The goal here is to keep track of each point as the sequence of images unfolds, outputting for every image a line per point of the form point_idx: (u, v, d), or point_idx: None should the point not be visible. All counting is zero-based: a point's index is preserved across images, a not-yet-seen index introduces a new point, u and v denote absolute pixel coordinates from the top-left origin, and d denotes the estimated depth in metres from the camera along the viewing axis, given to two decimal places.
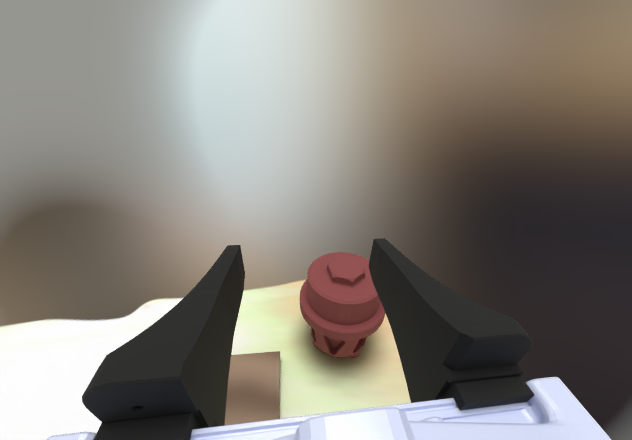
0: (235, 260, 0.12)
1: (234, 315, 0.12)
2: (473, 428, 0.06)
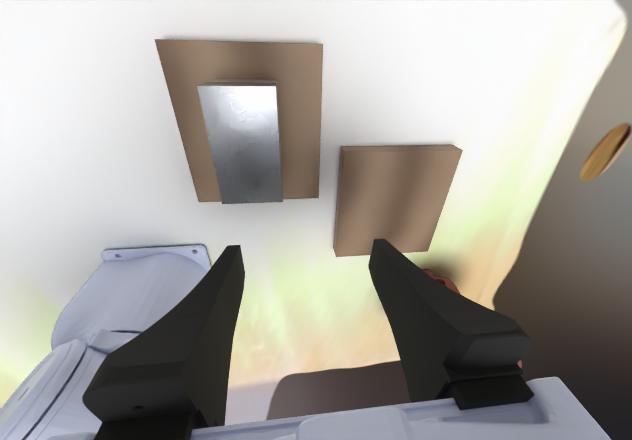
0: (235, 260, 0.12)
1: (234, 315, 0.12)
2: (473, 428, 0.06)
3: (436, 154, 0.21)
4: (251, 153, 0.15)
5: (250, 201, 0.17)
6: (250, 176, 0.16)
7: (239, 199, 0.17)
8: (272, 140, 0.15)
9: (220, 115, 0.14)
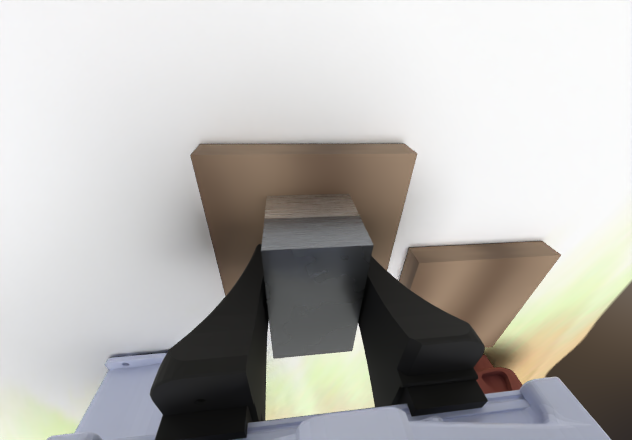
0: None
1: (267, 313, 0.12)
2: (473, 428, 0.06)
3: (528, 260, 0.17)
4: (322, 311, 0.11)
5: (310, 353, 0.13)
6: (316, 331, 0.12)
7: (296, 352, 0.13)
8: (353, 297, 0.11)
9: (287, 278, 0.10)
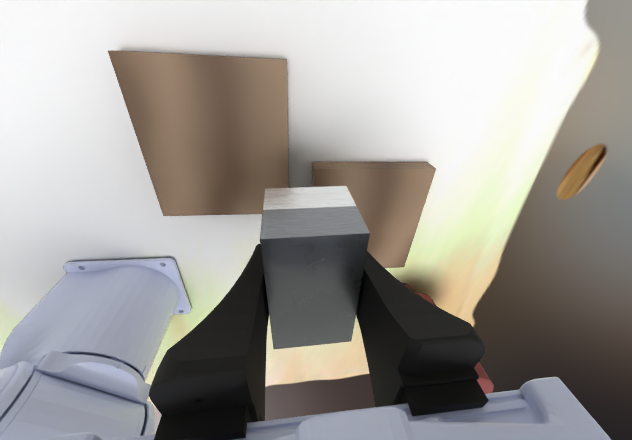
0: None
1: (267, 312, 0.12)
2: (473, 428, 0.06)
3: (409, 172, 0.21)
4: (321, 301, 0.11)
5: (310, 344, 0.13)
6: (315, 321, 0.12)
7: (296, 343, 0.13)
8: (351, 287, 0.11)
9: (286, 267, 0.10)
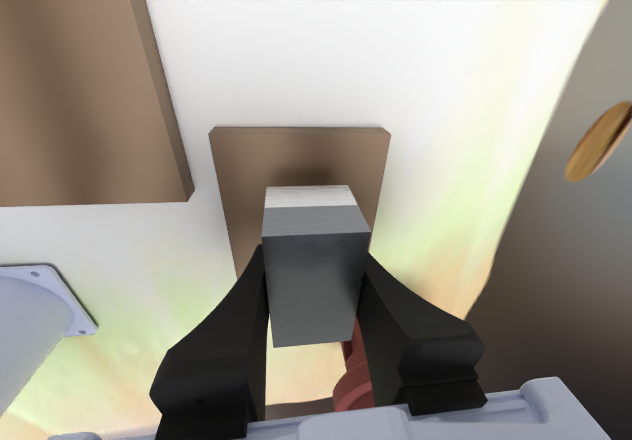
0: None
1: (267, 312, 0.12)
2: (473, 428, 0.06)
3: (352, 139, 0.14)
4: (321, 299, 0.11)
5: (310, 343, 0.13)
6: (315, 320, 0.12)
7: (296, 342, 0.13)
8: (352, 285, 0.11)
9: (287, 265, 0.10)
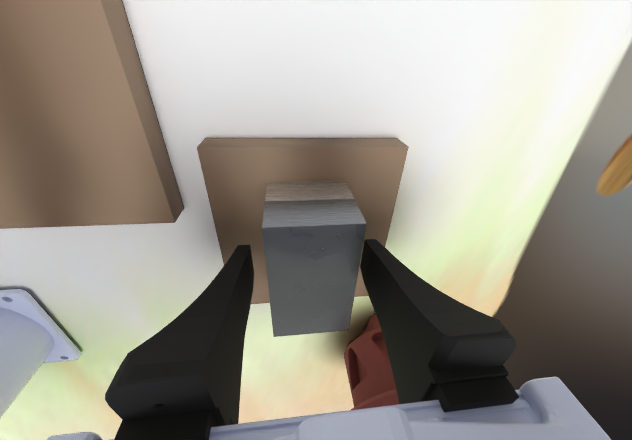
0: (246, 259, 0.12)
1: (245, 314, 0.12)
2: (473, 428, 0.06)
3: (364, 153, 0.12)
4: (320, 289, 0.12)
5: (309, 332, 0.13)
6: (314, 310, 0.12)
7: (295, 331, 0.13)
8: (348, 276, 0.11)
9: (287, 256, 0.10)
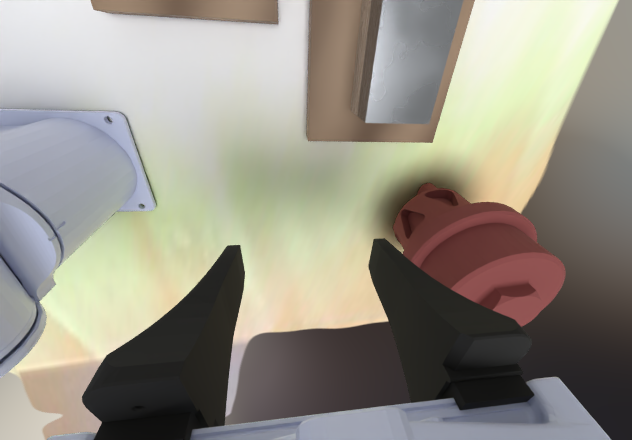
0: (235, 260, 0.12)
1: (234, 315, 0.12)
2: (473, 428, 0.06)
3: None
4: (417, 56, 0.13)
5: (395, 121, 0.15)
6: (406, 87, 0.14)
7: (385, 118, 0.15)
8: (445, 40, 0.13)
9: (400, 1, 0.12)
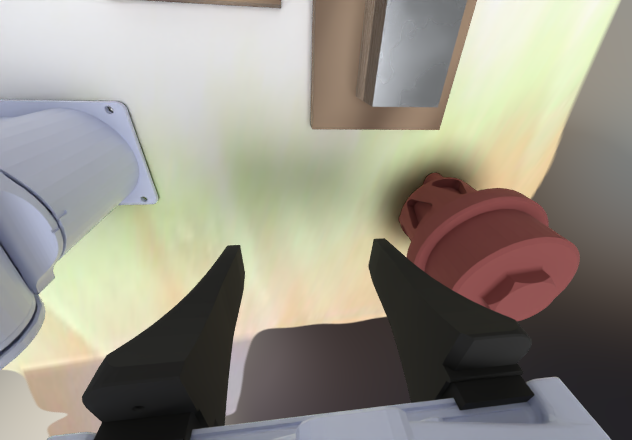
0: (235, 260, 0.12)
1: (234, 315, 0.12)
2: (473, 428, 0.06)
3: None
4: (426, 34, 0.13)
5: (403, 104, 0.15)
6: (415, 68, 0.14)
7: (392, 101, 0.14)
8: (454, 17, 0.13)
9: None
